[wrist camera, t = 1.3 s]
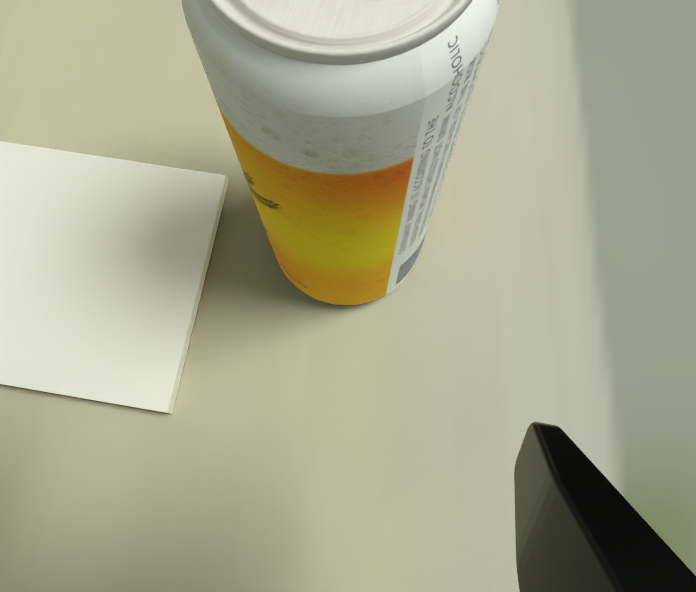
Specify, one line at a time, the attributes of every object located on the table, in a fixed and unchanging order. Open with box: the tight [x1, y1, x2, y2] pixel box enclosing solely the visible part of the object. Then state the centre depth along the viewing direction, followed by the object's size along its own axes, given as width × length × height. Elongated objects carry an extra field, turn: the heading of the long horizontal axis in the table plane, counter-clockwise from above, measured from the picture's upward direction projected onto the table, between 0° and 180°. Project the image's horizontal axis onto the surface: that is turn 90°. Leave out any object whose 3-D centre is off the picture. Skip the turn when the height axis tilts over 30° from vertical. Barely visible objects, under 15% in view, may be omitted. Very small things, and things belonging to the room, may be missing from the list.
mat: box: [0, 141, 229, 414], centre depth 24 cm, size 10×10×1 cm
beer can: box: [182, 0, 500, 305], centre depth 17 cm, size 6×6×15 cm
